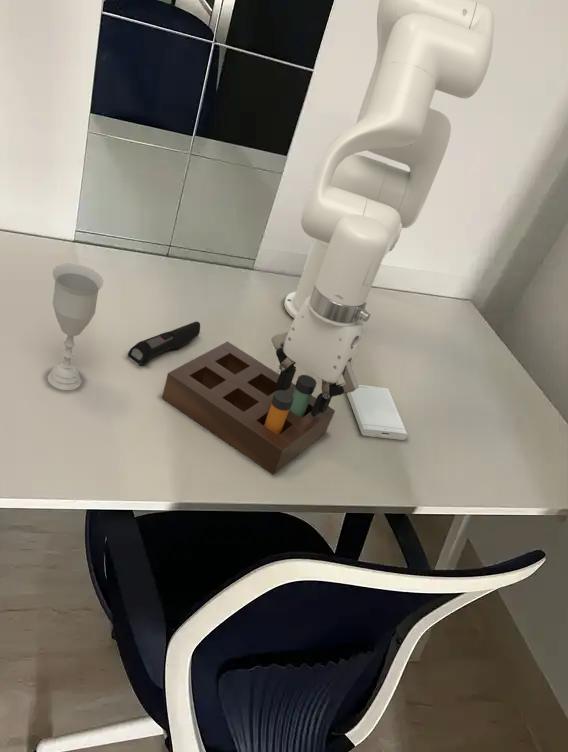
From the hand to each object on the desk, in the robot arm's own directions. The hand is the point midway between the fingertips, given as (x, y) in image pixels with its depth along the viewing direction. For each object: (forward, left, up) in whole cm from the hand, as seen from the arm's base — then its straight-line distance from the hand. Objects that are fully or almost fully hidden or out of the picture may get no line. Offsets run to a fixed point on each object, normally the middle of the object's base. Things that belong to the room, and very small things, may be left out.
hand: (299, 400), depth 124 cm
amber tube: (+7, 0, -6) cm, 9 cm away
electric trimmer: (0, -27, -6) cm, 27 cm away
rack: (+3, -7, -6) cm, 10 cm away
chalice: (+20, -30, -6) cm, 36 cm away
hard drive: (-17, +7, -6) cm, 19 cm away
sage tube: (0, 0, -6) cm, 6 cm away
